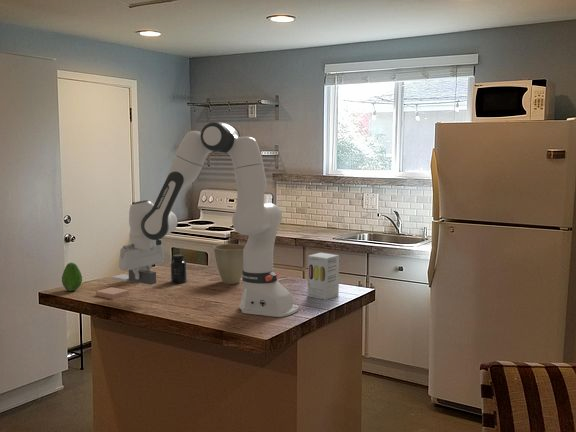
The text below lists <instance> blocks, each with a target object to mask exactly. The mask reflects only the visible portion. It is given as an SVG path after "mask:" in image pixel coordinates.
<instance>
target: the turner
mask: <svg viewBox="0 0 576 432" xmlns="http://www.w3.org/2000/svg"><path fill="white" fill-rule="evenodd" d="M138 272H139V274H141V279H135V274H134V272H133V269H132V270H128V274H126V273H123V274H117V275H112V276H111V279H112V280H117V281H121V282H127V281H128V282H132V281H133V283H138V284H139V283H140V284H143V285H144V284H145V285H148V286H149V285H155V284H157V272H156V271H152V270H150V271H146V270H141V269H139V271H138Z"/></svg>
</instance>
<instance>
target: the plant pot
mask: <svg viewBox="0 0 576 432" xmlns="http://www.w3.org/2000/svg"><path fill="white" fill-rule="evenodd" d="M245 246H246V244H241V243H239V244H237V243H236V244H235V243H226V244H225V243H224V244H223V243H222V244H218V245H215V246H213V252H214V258H215V262H216V266H217V270H218V273H219V277H220V279H221V281H222V283H223V284H226V285H235V284H239V283H240V282H241V279H242V271H243V250H244V247H245Z"/></svg>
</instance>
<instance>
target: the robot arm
mask: <svg viewBox="0 0 576 432" xmlns="http://www.w3.org/2000/svg"><path fill="white" fill-rule="evenodd" d="M213 152H214V153H218V154H228V155H229V156H230V158H231V162H232V167H233V173H234V178H235V185H236V193H237V194H236V207H235V211H234V213H233V216H232V219H231V220H232V221H231V224H232V227H233V229H234V231H236V233H238V234H239V235H242V236H248V238H247V241H246V244H245V245H246V246H245V247H244V250H243V271H242V276H241V279H242V293H241V297H240V298H241V300H240V304H239V305H238V306H239V307H238V308H239V309H240V310H241V313H242V314H246V315H247V314H249V315H256V316H257V315H258V316H266V317H272V318H273V317H274V318H282V317H287V316H290V315H292V314H295V313H297V312H298V311H299V310H300V307H299V306H298V305H295V304H294V301H293V296H292V294H291V291H289V290H288V289H287V288H286V287H284V285H282V283H281V282H279V281H278V278H277V277H279V276H280V272H277V273H276V272H275V270H274V247H275V242H276V237H277V233H278V229H279V226H280V225H281V222H282V219H283V214H282V210H281V208H280V207H279V206H278V205H276V204H274V203H272V202H269V201H268V202H265V191H266V188H267V186H268V183H267V177H266V172H265V166H264V161H263V157H262V153H261V149H260V147H259V144H258V142H257V140H256V139H255V138H253V137H251V136H248V135H247V136H241V133H240V132H239V130H238V129H237V128H236V127H235V126H233V125H230V124H228V123H226V122H222V121H220V122H219V121H211V122H209V123H207V124H205V125H204V126H203V128H202V129H201V131H199V130H191V131H190V130H189V131H188V132H187V133H186V134H185V135H184V136H183V138H182V141H181V142H180V143H179V145H178V147H177V149H176V152H175V155H174V157H173V159H172V161H171V164H170V167H169V170H168V173H167V176H166V179H165V181H164V183H163V185H162V187H161V190H160V191H159V194H158V196H157V197H156V199H155V201H154V203H153V202H152V201H151V200H148V199H147V200H145V199H144V200H139V201H135V202H133V203H132V204H130V206H129V212H128V224H129V229H130V231H129V244H128V245H124V246H123V245H122V247H121V248H120V251H119V260H118V267H119V269H120V270H121V271H129V270H132V269H133V272H134V274H135V279H141V274H139V272H138V271H139V268H140V267H145V268H146V271H152V268H151V267H152V265H157V264H162V263H163V262H164V260H165V251H164V246H163V244H164V240H163V238H164V237H166V236H167V235H169V234H170V233H172V232H174V231H175V230H176V228H177V227H178V223H179V221H178V216H177V215H176V213H175V212H174V211H173V210H172V209H173V207H174V205H175V203H176V201H177V198H178V197H179V195H180V194H181V192H182V191H184V189H186V188H187V187H188V186H189V185H191V184H192V183H193V182H194V181H195V180H196V179H197V178H198V176H199V175H200V173H201V171H202V169H203V167H204V164H205V162H206V159H207V158H208V156H209V154H210V153H213Z"/></svg>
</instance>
